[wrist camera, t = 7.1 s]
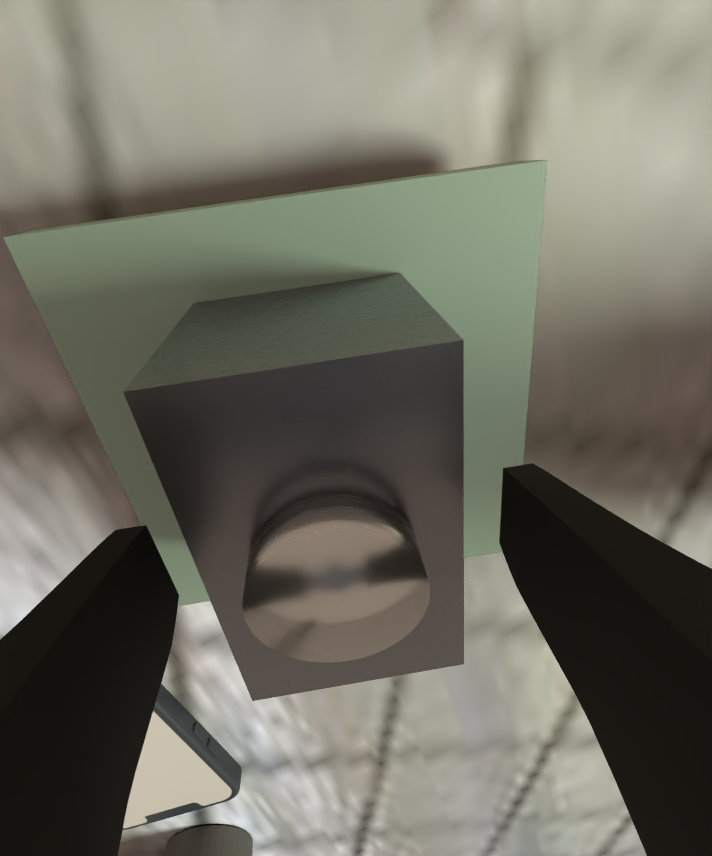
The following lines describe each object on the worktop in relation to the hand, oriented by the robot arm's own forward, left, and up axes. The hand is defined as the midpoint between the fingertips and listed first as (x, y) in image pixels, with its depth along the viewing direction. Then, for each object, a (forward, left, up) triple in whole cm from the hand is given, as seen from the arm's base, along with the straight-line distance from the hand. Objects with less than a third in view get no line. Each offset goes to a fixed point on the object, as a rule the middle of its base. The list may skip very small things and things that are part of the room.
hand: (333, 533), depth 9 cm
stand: (0, 0, -7) cm, 7 cm away
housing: (0, 0, -4) cm, 4 cm away
